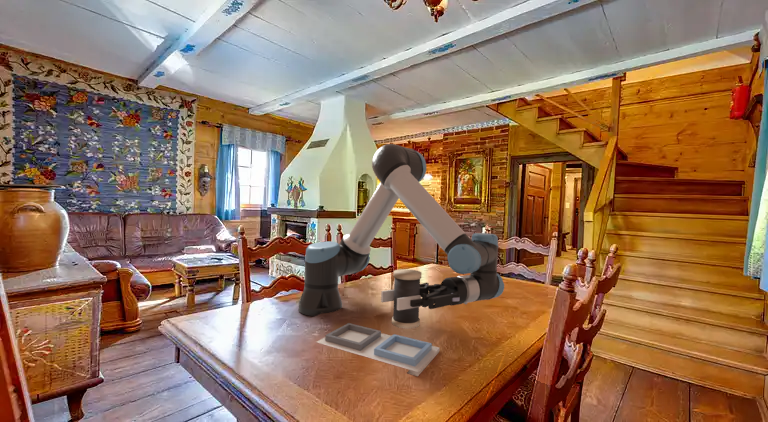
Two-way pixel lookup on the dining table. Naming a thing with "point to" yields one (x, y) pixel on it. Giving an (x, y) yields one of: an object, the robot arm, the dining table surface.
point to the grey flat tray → (382, 347)
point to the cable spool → (405, 287)
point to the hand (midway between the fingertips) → (389, 300)
